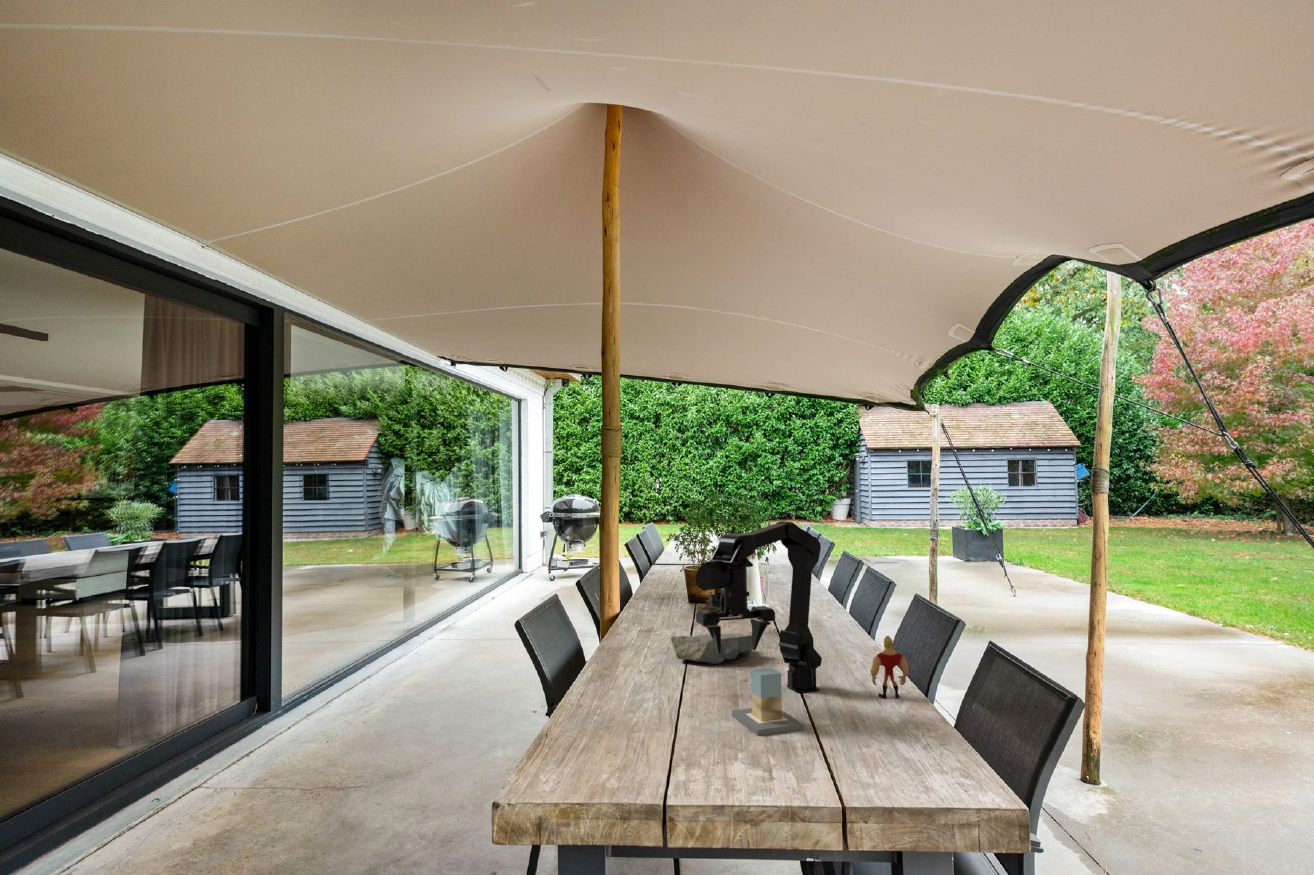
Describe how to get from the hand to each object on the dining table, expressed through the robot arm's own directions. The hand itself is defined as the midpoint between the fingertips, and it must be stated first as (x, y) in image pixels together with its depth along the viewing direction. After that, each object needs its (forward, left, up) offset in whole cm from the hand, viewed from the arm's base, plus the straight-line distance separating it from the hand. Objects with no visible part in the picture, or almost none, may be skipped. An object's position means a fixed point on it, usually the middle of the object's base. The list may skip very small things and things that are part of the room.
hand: (736, 651), depth 178 cm
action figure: (-39, +6, -13) cm, 41 cm away
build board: (-2, +13, -13) cm, 18 cm away
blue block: (-2, +13, -7) cm, 15 cm away
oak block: (-2, +13, -12) cm, 18 cm away
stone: (-13, -48, -14) cm, 52 cm away
